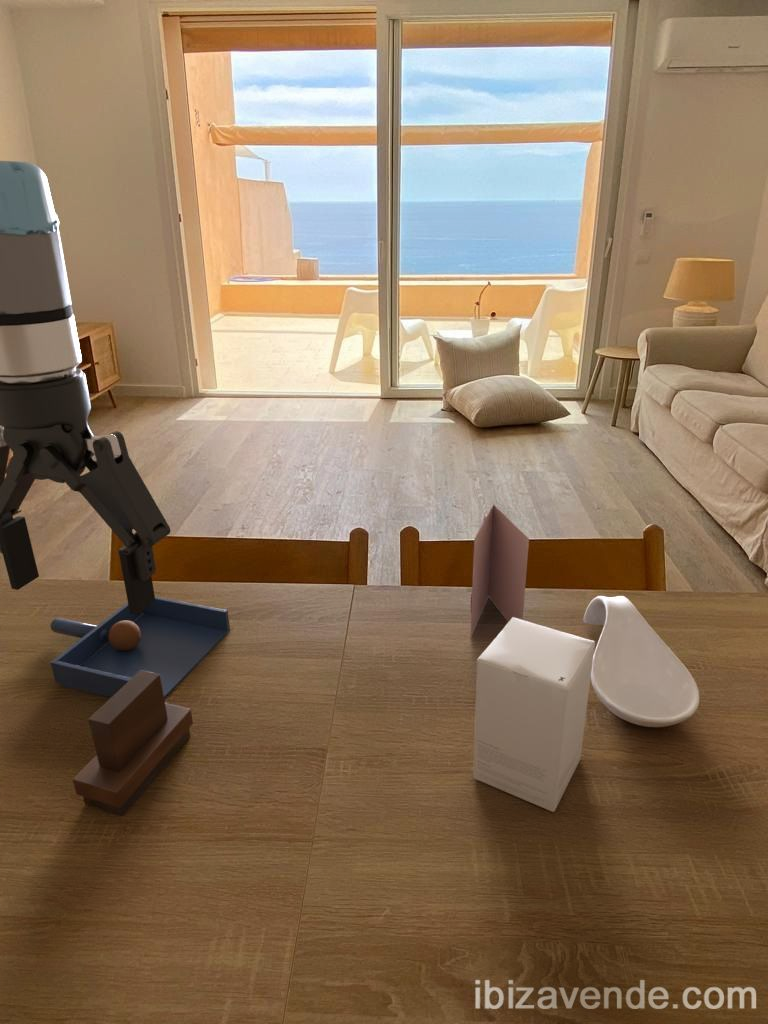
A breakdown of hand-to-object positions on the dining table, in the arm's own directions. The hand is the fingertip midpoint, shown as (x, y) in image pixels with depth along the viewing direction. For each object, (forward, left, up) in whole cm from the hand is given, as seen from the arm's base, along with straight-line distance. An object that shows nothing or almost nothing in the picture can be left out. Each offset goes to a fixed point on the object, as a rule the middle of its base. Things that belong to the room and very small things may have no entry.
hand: (82, 594), depth 66 cm
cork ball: (-12, +17, -18) cm, 28 cm away
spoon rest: (+50, +32, -21) cm, 63 cm away
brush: (+3, 0, -21) cm, 21 cm away
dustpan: (-13, +17, -21) cm, 30 cm away
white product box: (+41, +13, -21) cm, 48 cm away
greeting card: (+33, +40, -21) cm, 56 cm away
